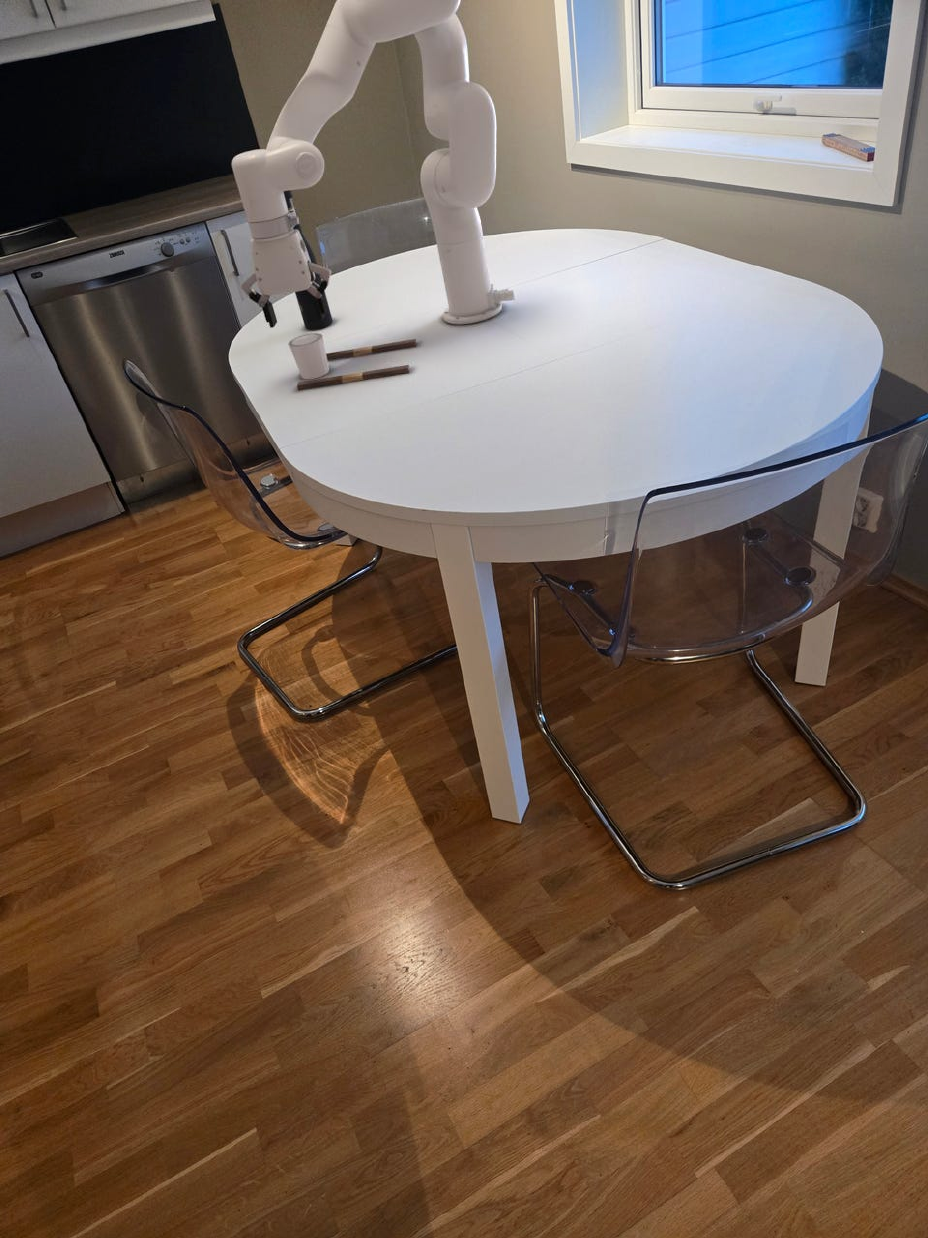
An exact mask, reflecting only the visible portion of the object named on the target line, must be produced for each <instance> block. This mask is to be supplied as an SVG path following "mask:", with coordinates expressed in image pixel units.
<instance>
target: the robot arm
mask: <svg viewBox="0 0 928 1238" xmlns="http://www.w3.org/2000/svg"><path fill="white" fill-rule="evenodd" d="M461 1H462V0H336V1H335V3H334V6H333V8H332V9H331V13H330V15H329V18H328V20H327V22H326V25H325V27H324V29H323V32H322V33H321V36H320V39H319V41H318V44H317V46H316V48H315V50H314V54H313V56H312V58H311V60H310V63H309V65H308V67H307V69H306V71H305V72H304V74H303V75H302V77H301V78H300V80H299V82H298V83H297V85H296V86H295V88H294V90H293V91H292V93H291V95H290V96H289V97H288V99H287V101H286V102H285V104H284V106H283V108H282V109H281V111H280V113H279V116H278V117H277V120H276V122H275V124H274V127H273V129H272V131H271V134H270V137H269V139H268V141H267V142H268V143H267V145H266V148H260V149H253V150H249V151H244V152H242V153H239V154H237V155H234V157H233V158H232V160H231V168H232V169H231V170H232V173H233V176H234V180H235V183H236V186H237V190H238V192H239V196H240V201H241V203H242V207H243V210H244V213H245V217H246V220H247V223H248V227H249V229H250V233H251V239H250V240H249V243H250V251H251V252H250V253H251V259H252V264H253V270H254V273H253V274H252V275H251V276H249V277H248V278H247V279H246V280H244V282H243V283H241V285H240V287H241V289H242V290H243V292H244V293H245V294H246V295H247V296H248V297H249V299H250V300H251V301H252V302H254V303H255V304H258V306H259V307H260V308H261V309H262V313H263V315H264V320H265V322H266V323H268V325H269V328H270V329H271V328H275V326H276V325H277V323H278V319H277V315H276V312H275V309H274V306H273V305H274V304H273V303H272V302H271V301H270V298H271V296H278V295H284V294H291V293H295V292H297V291H303V290H307V291H309V292H310V293H311V294H312V295H313V296H314V297H315V298H314V300H313V301H314V305H315V309H316V312H317V316H318V319H319V320H323V318H324V316H325V313H326V306H325V302H324V299H323V295H322V294H323V293H324V291H325V292H326V289H327V288H328V286H329V284H330V279H331V275H332V270H331V269H330V268H329V267H325V266H323V265H319V264H318V263H317V264H314V263H311V260H310V257H309V255H308V252H307V249H306V246H305V244H304V241H303V239H302V237H301V234H300V232H299V230H297V229H295V230H293V228H294V226H295V225H296V224H299V223H300V218H299V216H298V215H295V217H294V216H291V214H290V212H289V211H290V210H289V211H288V207H287V204H286V200H285V196H284V191H288V190H291V191H295V190H303V189H304V190H305V189H309V188H311V187H313V186H315V185H316V184H318V183H319V182H320V181H321V179H322V177H323V175H324V172H325V159H324V156H323V154H322V153H321V151H320V149H319V148H318V147H317V146H315V145H314V142H315V140H316V138H317V136H318V134H319V133H320V131H321V129H322V128H323V127H324V125H325V124H326V123H327V122H328V120H329V119H330V118H332V117H333V116H334V115H335V114H336V113H338V112H339V111H340V110H342V109H344V108H345V107H346V106H347V104H349V102H350V101H351V100H352V98H353V97H354V95H355V93H356V90H357V88H358V86H359V83H360V81H361V79H362V76H363V74H364V71H365V69H366V67H367V65H368V62H369V61H370V58H371V56H372V54H373V51H374V49H375V47H376V44H377V43H385V42H391V41H393V40H397V39H400V38H404V37H407V36H410V35H413V36H414V38H415V40H416V41H417V44H418V47H419V51H420V56H421V67H422V89H423V91H422V92H423V95H422V96H423V117H424V123H425V127H426V128H427V131H428V132H429V134H431V136H433V137H435V138H436V139H439V140H443V141H448V147H446V148H445V147H444V148H438V149H436V150H434V151H432V152H431V153H429V155H427V157H426V158H425V159H424V161H423V163H422V165H421V169H420V177H419V178H420V187H421V191H422V194H423V197H424V201H425V203H426V205H427V209H428V212H429V215H430V219H431V223H432V227H433V232H434V238H435V241H436V247H437V253H438V258H439V264H440V269H441V274H442V279H443V284H444V290H445V295H446V300H447V305H448V307H447V308H446V309H444V310H443V313H442V318H443V321H444V322H446V323H448V324H450V325H468V324H476V323H480V322H483V321H487V320H488V319H491V318H493V317H495V316H497V315H498V314H499V313H500V312H501V311H502V309H503V305H502V302H509V301H515V300H516V299H515V292H514V289H513V290H509V288H503V289H500V290H498V289H495V287H494V284H493V283H491V277H490V271H489V264H488V257H487V253H486V245H485V240H484V239H485V238H484V234H483V227H482V226H483V225H482V222H481V216H480V213H479V209H478V208H479V207H481V206H483V205H484V204H485V203H486V202H488V200H489V199H490V197H491V196H492V194H493V192H494V189H495V185H496V177H497V116H496V108H495V105H494V102H493V99H492V97H491V95H490V94H489V92H488V91H487V89H485V88H484V86H482V85H480V84H479V83H476V82H473V81H470V67H469V53H468V52H469V51H468V44H467V43H468V42H467V38H466V34H465V31H464V28H463V26H462V23H461V21H460V18H459V17H458V14H456V13H457V11H458V9H459V7H460V5H461ZM314 273H317V274H320V276H321V280H322V283H321V284H320V286H319V285H318V284H317V283H315V282H314V281H315V274H314ZM256 282H257V285H258V286H257V287H258V288H259V291H260V293H261V294H260V293H259V292H258V291H256V290H255V289H254V288H253V285H254V284H256Z"/></svg>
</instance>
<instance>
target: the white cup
mask: <svg viewBox="0 0 928 1238" xmlns="http://www.w3.org/2000/svg"><path fill="white" fill-rule="evenodd" d="M287 345H288V348H289V349H290V352H291V355H292V357H293V360H294V361H295V364H296V367H297V369H298V372H299V374H300V376H301V378H302V379H304V380H316V379H319V378H321V377H323V376H325V375H327V374H328V373H329V371H330V367H329V361H327V356H326V354H327V352H326V347H325V346H326V345H325V340H324V337H323V335H322V334H321V333H319V332H310V333H305V334H301V335H299V336H296V337H294V338H292V339H291V340H290V341H288V344H287Z"/></svg>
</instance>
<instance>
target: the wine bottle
mask: <svg viewBox="0 0 928 1238" xmlns="http://www.w3.org/2000/svg"><path fill="white" fill-rule="evenodd" d="M284 196H285V200H286V204H287V207H288V211H289V212H290V214H291V216H294V217H295V216H296V214H297V213H296V212H295V210H292V209H293V206H292V202H291V199H293V194H292V190H288V191H284ZM301 227H302V226H301V224H300V222H299V224H296V225H295V226H294V228H293V230H295V229H297V230H299V232H300V234H301V237H302V239H303V241H304V244H305V246H306V249H307V252H308V255H309V257H310V260H311V263H314V264H317V265H318V263H317V259H316V258H317V257H316V255H315V253H314V251H313V249H312V247H311V244H310V243H309V241H308V239H307V238H306V236H305V235H304V234H303V231H302V228H301ZM314 274H315V281H314V282H315V283H317V284H318V285H319V286H320V284H321V283H322V276H321V275H320V274H317V273H314ZM294 294H295V297H296V301H297V304H298V307H299V311H300V315H301V318H302V321H303V325H304V328H305V330H306V331H318V330H322V329H325V328H328V327H330V326H331V325H332V324H333V322H334V320H333V317H332V313H331V310H330V305H329V302H328V297H327V295H326V290H325V291H324V293H323V294H322V295H323V299H324V302H325V306H326V313H325V316H324V318H323V320H319V319H318V316H317V312H316V309H315V305H314V301H313V300H314V298H315V297H314V296H313V295H312V294H311V293H310V292H309V291H307V290H303V291H297V292H294Z"/></svg>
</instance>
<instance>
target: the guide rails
mask: <svg viewBox="0 0 928 1238" xmlns="http://www.w3.org/2000/svg"><path fill="white" fill-rule="evenodd" d="M414 347H417V339H416V338H412V339H407V340H401V341H394V342H388V343H382V344H376V345H371V346H364V347H357V348H353V349H351V348H350V349H346V350H345V349H344V350H340V351H333V352H326V356H327V361H328V362H329V361H335V360H341V359H347V358H353V357H359V356H364V355H371V354H376V353H377V354H378V353H383V352H389V351H390V352H391V351H395V350H401V349H402V350H403V349H408V348H414ZM402 374H410V364H404V365H399V366H392V367H386V368H380V369H372V370H367V371H360V372H354V373H348V374H343V375H342V374H341V375H335V376H330V377H324V378H315V379H309V380H305V381H298V382H297V384H296V389H297V391H302V390H308V389H314V388H321V387H327V386H335V385H339V384H347V383H354V382H358V381H359V382H360V381H365V380H371V379H378V378H383V377H390V376H396V375H402Z"/></svg>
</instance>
